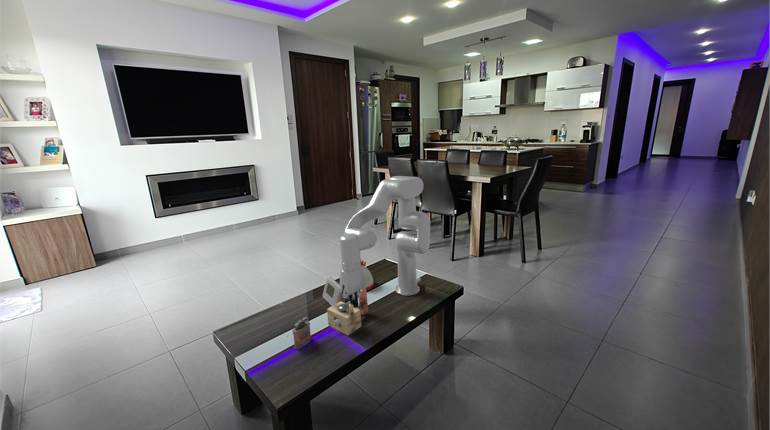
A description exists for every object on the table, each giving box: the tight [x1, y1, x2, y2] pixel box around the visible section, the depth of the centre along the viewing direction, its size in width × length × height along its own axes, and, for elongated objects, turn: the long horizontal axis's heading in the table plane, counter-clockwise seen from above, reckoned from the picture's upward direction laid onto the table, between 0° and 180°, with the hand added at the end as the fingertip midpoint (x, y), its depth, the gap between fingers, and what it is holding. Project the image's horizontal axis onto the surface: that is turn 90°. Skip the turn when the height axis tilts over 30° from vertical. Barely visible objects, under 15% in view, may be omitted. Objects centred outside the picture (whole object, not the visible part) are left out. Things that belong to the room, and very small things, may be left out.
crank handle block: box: [337, 303, 354, 316], centre depth 132 cm, size 5×10×5 cm, turn 35°
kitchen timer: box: [361, 260, 375, 291], centre depth 172 cm, size 14×14×15 cm
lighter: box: [292, 316, 313, 350], centre depth 126 cm, size 8×3×10 cm, turn 148°
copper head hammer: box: [334, 288, 369, 326], centre depth 139 cm, size 19×4×12 cm, turn 141°
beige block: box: [326, 301, 362, 336], centre depth 136 cm, size 8×12×8 cm, turn 51°
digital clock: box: [322, 276, 346, 307], centre depth 156 cm, size 16×9×11 cm, turn 22°
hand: (354, 306), depth 132 cm, fingers closed
